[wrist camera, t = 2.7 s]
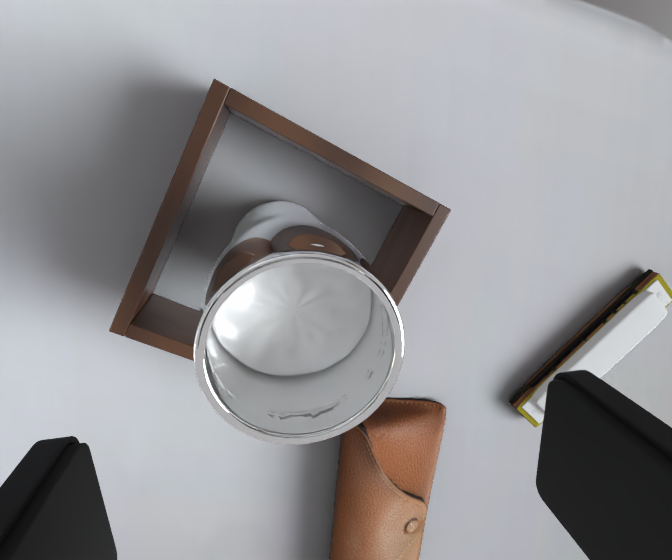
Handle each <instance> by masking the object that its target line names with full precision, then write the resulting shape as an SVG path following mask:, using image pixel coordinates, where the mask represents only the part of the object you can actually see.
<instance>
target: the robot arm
mask: <svg viewBox="0 0 672 560" xmlns="http://www.w3.org/2000/svg"><path fill="white" fill-rule="evenodd" d="M536 486H537V490H538V493H539V495H540V497H541V498H542V500H543V501H544V502H545V504H546V505H547V506H548V508H549V509H550V510H551V511H552V513H553V514H554V515H555V516H556V518H557V519H558V520H559V521H560V523H561V524H562V525H563V526H564V528H565V529H566V530H567V532H568V533H569V534H570V535H571V537H572V538H573V539H574V540H575V542H576V543H577V544H578V545H579V547H580V548H581V549H582V551H583V552H584V553H585V554H586V556H587V557H588V558H589V559H590V560H672V428H671V427H670V426H668V425H667V424H665V423H664V422H662V421H661V420H660V419H658V418H657V417H655V416H654V415H652V414H651V413H649V412H648V411H646V410H645V409H643V408H642V407H641V406H639V405H638V404H636V403H635V402H633V401H632V400H630V399H629V398H627V397H626V396H624V395H623V394H622V393H620V392H619V391H617V390H616V389H614V388H613V387H611V386H610V385H608V384H607V383H606V382H604V381H603V380H601V379H600V378H598V377H597V376H595V375H594V374H592V373H591V372H589V371H587V370H576V371H568V372H560V373H558V374H556V375H555V377H554V378H553V380H552V381H550V382H549V384H548V387H547V395H546V403H545V411H544V419H543V427H542V435H541V444H540V452H539V460H538V468H537V476H536ZM0 560H117V551H116V547H115V543H114V539H113V535H112V532H111V528H110V524H109V520H108V517H107V513H106V509H105V505H104V501H103V498H102V494H101V490H100V486H99V482H98V479H97V475H96V471H95V467H94V464H93V460H92V456H91V452H90V449H89V446H88V445H87V444H86V443H79V441H78V439H77V438H76V437H73V436H70V437H63V438H55V439H47V440H41V441H38V442H36V443H35V444H34V445H33V446H32V448H31V449H30V450H29V451H28V453H27V454H26V455H25V456H24V458H23V459H22V460H21V462H20V463H19V464H18V465H17V467H16V468H15V469H14V471H13V472H12V473H11V474H10V476H9V477H8V478H7V479H6V481H5V482H4V483H3V485H2V486H1V487H0Z"/></svg>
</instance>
